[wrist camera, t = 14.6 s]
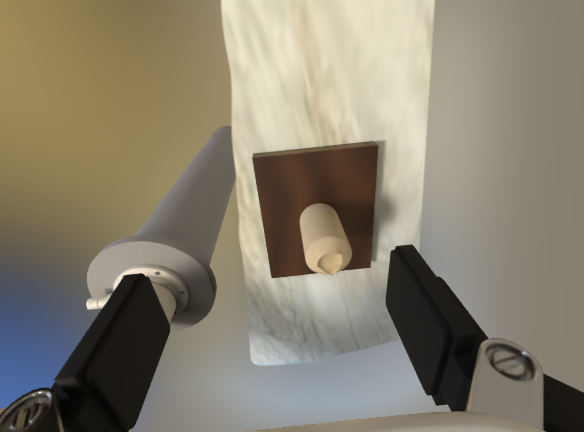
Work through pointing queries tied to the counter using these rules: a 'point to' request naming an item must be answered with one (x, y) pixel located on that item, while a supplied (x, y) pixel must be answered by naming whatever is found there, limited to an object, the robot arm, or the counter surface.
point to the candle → (324, 239)
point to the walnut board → (316, 199)
